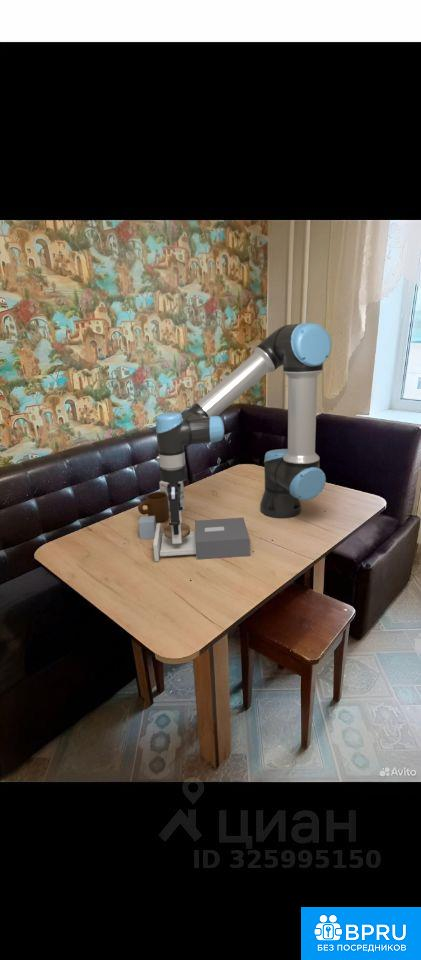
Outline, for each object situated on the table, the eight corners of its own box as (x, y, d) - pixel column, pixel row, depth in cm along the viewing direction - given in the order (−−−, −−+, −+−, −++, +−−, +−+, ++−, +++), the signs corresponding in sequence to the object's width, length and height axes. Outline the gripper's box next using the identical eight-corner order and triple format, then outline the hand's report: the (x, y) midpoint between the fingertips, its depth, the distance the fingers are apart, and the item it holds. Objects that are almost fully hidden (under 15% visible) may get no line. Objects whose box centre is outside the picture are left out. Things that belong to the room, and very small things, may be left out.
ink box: (161, 509, 158) (158, 481, 154) (169, 505, 161) (167, 477, 158) (177, 514, 153) (174, 485, 149) (186, 509, 156) (183, 481, 152)
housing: (243, 533, 135) (243, 516, 133) (250, 555, 121) (249, 537, 119) (195, 536, 135) (194, 520, 133) (196, 559, 121) (195, 541, 119)
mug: (146, 530, 141) (144, 505, 138) (134, 524, 146) (131, 500, 143) (173, 519, 149) (171, 495, 146) (161, 513, 154) (158, 490, 151)
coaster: (165, 528, 129) (164, 523, 129) (190, 526, 130) (189, 522, 129) (163, 539, 122) (163, 534, 121) (190, 538, 122) (189, 533, 122)
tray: (206, 534, 135) (205, 519, 133) (208, 557, 121) (207, 541, 119) (157, 538, 134) (155, 523, 133) (153, 561, 120) (151, 545, 118)
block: (156, 531, 140) (154, 515, 138) (155, 538, 135) (153, 522, 133) (142, 532, 140) (140, 516, 138) (140, 539, 135) (138, 523, 133)
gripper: (161, 457, 128) (167, 522, 136) (156, 478, 109) (163, 553, 116) (185, 456, 129) (189, 521, 136) (184, 477, 109) (189, 552, 117)
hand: (177, 536), depth 126 cm, fingers closed on coaster, 8 cm apart
